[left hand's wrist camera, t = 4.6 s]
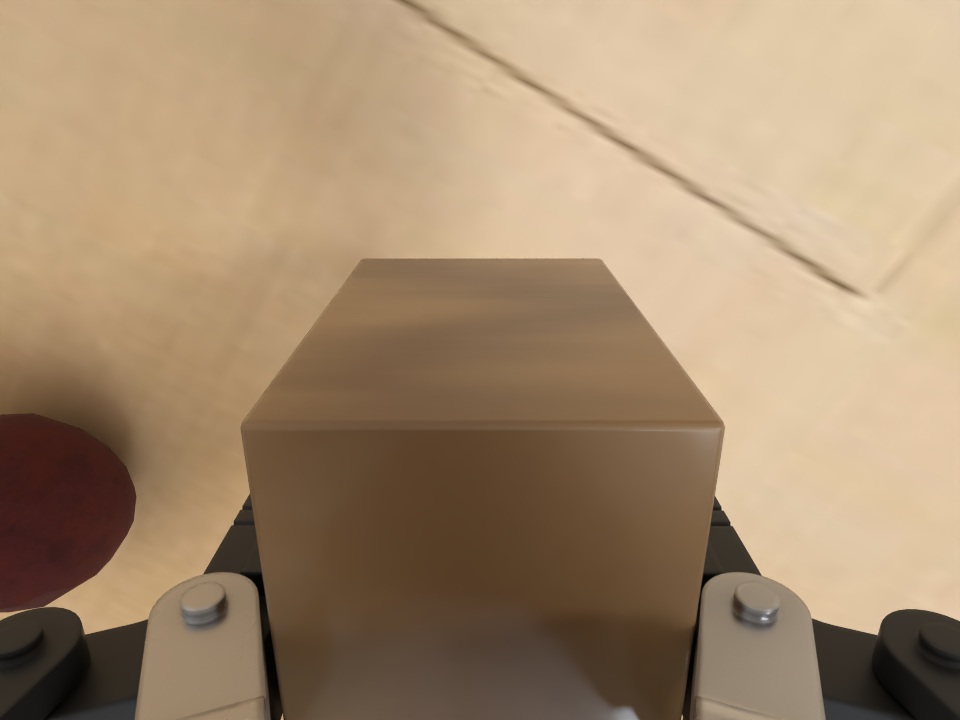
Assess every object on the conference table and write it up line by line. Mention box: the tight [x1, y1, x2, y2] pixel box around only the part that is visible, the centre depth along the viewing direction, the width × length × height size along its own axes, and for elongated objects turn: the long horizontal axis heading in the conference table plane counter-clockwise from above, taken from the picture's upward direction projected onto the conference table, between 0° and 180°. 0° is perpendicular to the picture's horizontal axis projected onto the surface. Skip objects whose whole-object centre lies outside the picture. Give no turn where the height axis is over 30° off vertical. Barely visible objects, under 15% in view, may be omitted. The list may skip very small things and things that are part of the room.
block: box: [241, 259, 725, 720], centre depth 11 cm, size 5×8×7 cm, turn 0°
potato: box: [0, 413, 136, 612], centre depth 25 cm, size 7×8×7 cm
